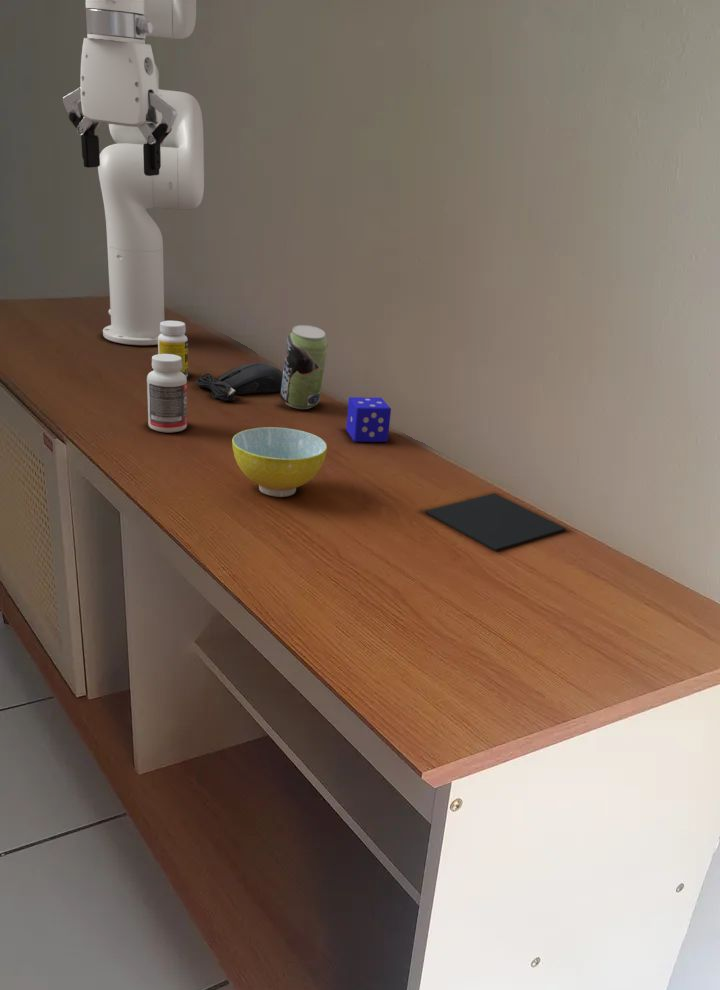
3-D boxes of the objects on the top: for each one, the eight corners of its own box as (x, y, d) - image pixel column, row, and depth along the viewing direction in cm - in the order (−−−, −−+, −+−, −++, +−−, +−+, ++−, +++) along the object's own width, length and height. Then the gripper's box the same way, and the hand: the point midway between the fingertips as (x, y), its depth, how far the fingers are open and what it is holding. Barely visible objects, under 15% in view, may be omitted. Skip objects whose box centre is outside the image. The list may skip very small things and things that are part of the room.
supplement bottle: (191, 379, 152) (190, 326, 148) (161, 380, 151) (160, 326, 146) (184, 371, 156) (184, 319, 152) (156, 372, 154) (154, 319, 150)
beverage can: (301, 397, 149) (305, 319, 143) (332, 410, 145) (338, 330, 139) (270, 403, 145) (273, 323, 139) (302, 416, 141) (306, 335, 135)
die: (346, 430, 137) (348, 396, 135) (378, 430, 139) (382, 397, 136) (354, 442, 133) (357, 407, 131) (387, 442, 134) (391, 408, 132)
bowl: (304, 469, 122) (307, 423, 119) (337, 504, 113) (341, 455, 110) (220, 476, 118) (220, 428, 115) (247, 512, 109) (248, 461, 106)
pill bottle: (193, 431, 131) (193, 361, 126) (157, 435, 129) (155, 363, 124) (177, 419, 135) (176, 350, 130) (142, 423, 132) (139, 353, 127)
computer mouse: (302, 394, 151) (304, 370, 149) (222, 404, 143) (223, 379, 141) (269, 377, 158) (270, 354, 156) (191, 385, 150) (191, 361, 148)
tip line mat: (425, 512, 114) (425, 510, 113) (494, 495, 120) (494, 493, 120) (495, 551, 106) (496, 549, 106) (565, 530, 113) (565, 528, 112)
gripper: (187, 36, 126) (188, 176, 135) (75, 25, 130) (83, 162, 139) (159, 32, 120) (162, 180, 129) (43, 21, 124) (53, 165, 133)
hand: (121, 170), depth 134 cm, fingers open, 9 cm apart
